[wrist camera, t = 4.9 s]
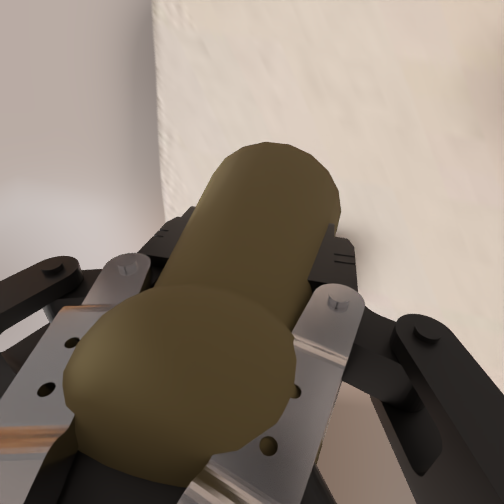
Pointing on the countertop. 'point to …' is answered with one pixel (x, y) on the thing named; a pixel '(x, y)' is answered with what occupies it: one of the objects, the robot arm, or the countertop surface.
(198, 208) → the cork
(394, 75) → the countertop surface
